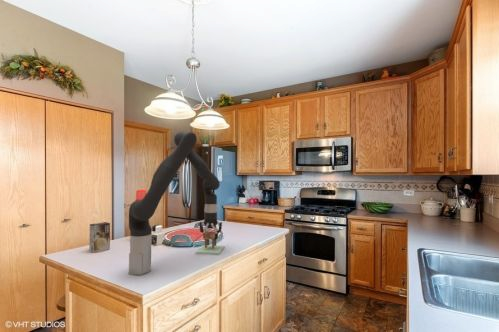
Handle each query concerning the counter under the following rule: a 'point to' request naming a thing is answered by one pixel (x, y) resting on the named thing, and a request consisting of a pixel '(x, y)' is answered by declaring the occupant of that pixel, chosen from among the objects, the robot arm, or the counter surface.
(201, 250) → the sage mat
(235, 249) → the counter surface
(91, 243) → the coffee box
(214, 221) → the robot arm
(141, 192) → the stacking cups
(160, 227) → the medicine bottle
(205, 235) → the walnut stool
